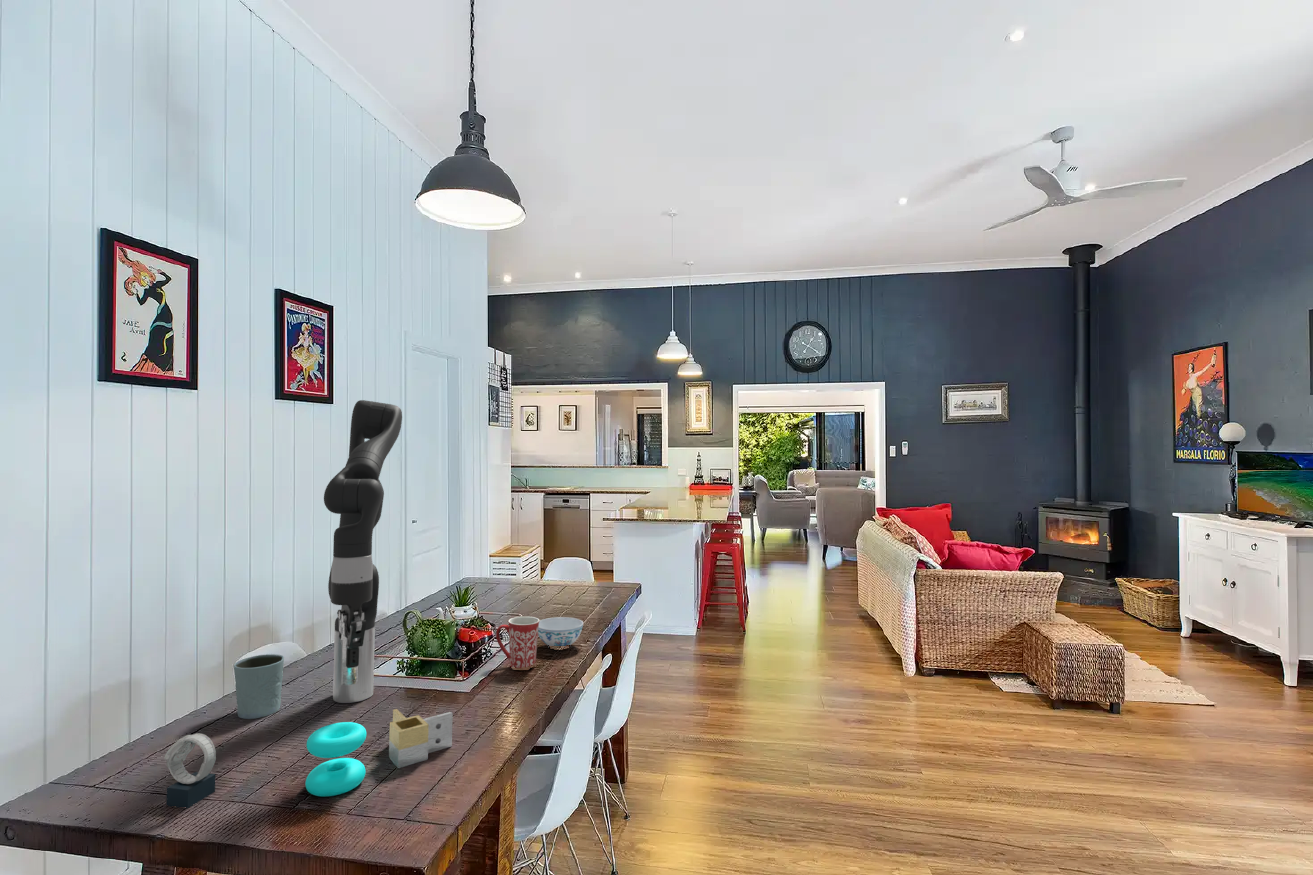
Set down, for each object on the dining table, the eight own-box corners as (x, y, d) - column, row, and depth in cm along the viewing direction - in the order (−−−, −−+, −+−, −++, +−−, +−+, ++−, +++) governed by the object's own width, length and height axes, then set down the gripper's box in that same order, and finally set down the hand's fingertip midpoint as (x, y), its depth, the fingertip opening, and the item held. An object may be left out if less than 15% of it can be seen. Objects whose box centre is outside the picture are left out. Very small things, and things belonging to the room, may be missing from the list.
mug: (543, 662, 186) (543, 617, 186) (532, 673, 177) (533, 625, 177) (502, 660, 188) (503, 614, 188) (490, 670, 179) (490, 622, 179)
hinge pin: (338, 682, 126) (339, 621, 126) (356, 678, 128) (357, 619, 128) (342, 686, 123) (343, 625, 124) (360, 683, 125) (362, 622, 126)
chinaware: (579, 655, 193) (579, 630, 193) (530, 654, 193) (531, 629, 193) (585, 640, 208) (586, 617, 208) (540, 640, 208) (540, 616, 208)
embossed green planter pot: (288, 711, 149) (290, 660, 149) (238, 724, 142) (240, 671, 142) (275, 699, 156) (276, 651, 156) (227, 711, 149) (228, 660, 149)
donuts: (367, 716, 124) (366, 737, 114) (366, 767, 123) (364, 793, 114) (309, 724, 120) (303, 747, 110) (308, 777, 119) (302, 804, 110)
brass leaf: (379, 746, 132) (380, 712, 132) (407, 738, 136) (408, 705, 136) (398, 768, 123) (399, 732, 123) (427, 759, 127) (428, 724, 127)
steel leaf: (388, 757, 128) (389, 722, 128) (445, 740, 135) (446, 707, 135) (398, 768, 123) (399, 732, 123) (456, 750, 131) (457, 716, 131)
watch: (185, 788, 115) (187, 727, 115) (223, 792, 114) (225, 731, 114) (156, 804, 109) (158, 741, 110) (195, 809, 108) (198, 745, 108)
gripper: (381, 581, 123) (379, 670, 123) (363, 570, 134) (361, 652, 134) (339, 586, 119) (337, 678, 118) (324, 574, 130) (322, 659, 129)
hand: (350, 664), depth 126 cm, fingers closed on hinge pin, 2 cm apart
